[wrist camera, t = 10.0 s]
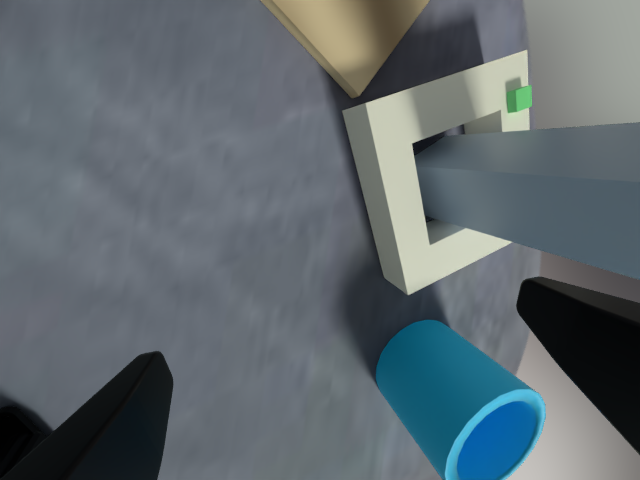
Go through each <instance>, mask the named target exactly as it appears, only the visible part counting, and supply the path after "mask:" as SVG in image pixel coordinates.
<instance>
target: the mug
mask: <svg viewBox="0 0 640 480" xmlns="http://www.w3.org/2000/svg"><path fill="white" fill-rule="evenodd" d="M376 381H377V384H378V387H379V390H380V391H381V393H382V394H383V396H384V397H385V399H386V400H387V401H388V403H389V404H390V406H391V407H392V408H393V410H394V411H395V413H396V414H397V416H398V417H399V418H400V420H401V421H402V423H403V424H404V425H405V427H406V428H407V430H408V431H409V433H410V434H411V435H412V437H413V438H414V440H415V441H416V442H417V444H418V445H419V447H420V448H421V450H422V451H423V452H424V454H425V455H426V457H427V458H428V459H429V461H430V462H431V464H432V465H433V467H434V468H435V469H436V471H437V472H438V474H439V475H440V476H441V478H442V479H443V480H505V479H507V478H508V477H509V476H510V475H512V474H513V473H514V472H515V471H516V470H517V469H518V467H519V466H520V465H521V464H522V463H523V462H524V461H525V459H526V458H527V457H528V455H529V454H530V452H531V451H532V450H533V448H534V446H535V445H536V443H537V441H538V439H539V437H540V435H541V433H542V429H543V425H544V422H545V417H546V413H545V403H544V401H543V399H542V397H541V395H540V394H539V393H537V392H536V391H534V390H533V389H531V388H530V387H529V386H528V385H526V384H525V383H524V382H522V381H521V380H520V379H518V378H517V377H516V376H514V375H513V374H512V373H510V372H509V371H507V370H506V369H505V368H503V367H502V366H501V365H499V364H498V363H497V362H495V361H494V360H493V359H491V358H490V357H489V356H487V355H486V354H484V353H483V352H482V351H480V350H479V349H478V348H476V347H475V346H474V345H472V344H471V343H470V342H468V341H467V340H465V339H464V338H463V337H461V336H460V335H459V334H457V333H456V332H455V331H453V330H452V329H451V328H449V327H448V326H446V325H445V324H443V323H441V322H440V321H436V320H423V321H418V322H414V323H412V324H411V325H409V326H407V327H405V328H403V329H402V330H400V331H399V332H398V333H397V334H396V335H395V336H394V337H393V338H392V339H391V340H390V341H389V342H388V344H387V345H386V347H385V348H384V350H383V351H382V353H381V355H380V358H379V361H378V364H377V366H376Z"/></svg>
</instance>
